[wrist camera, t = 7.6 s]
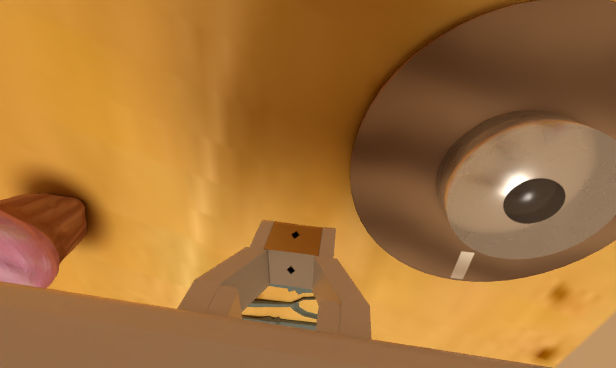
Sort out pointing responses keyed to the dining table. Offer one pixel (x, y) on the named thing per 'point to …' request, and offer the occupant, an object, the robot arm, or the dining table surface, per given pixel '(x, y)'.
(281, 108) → the dining table surface
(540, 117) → the cover
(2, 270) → the cupcake
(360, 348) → the robot arm
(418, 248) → the platter
